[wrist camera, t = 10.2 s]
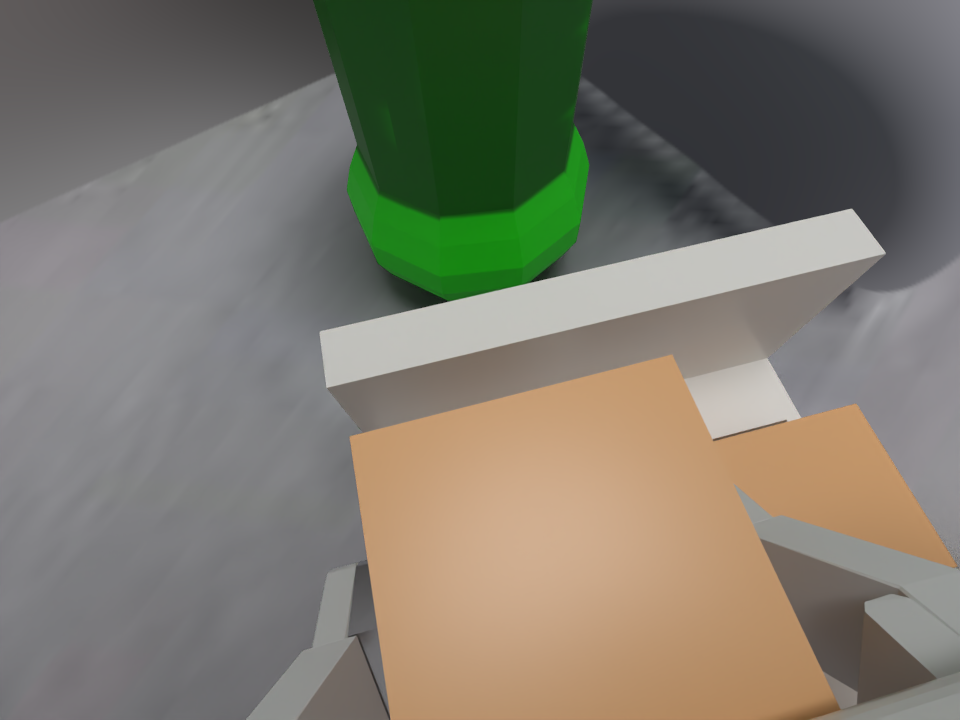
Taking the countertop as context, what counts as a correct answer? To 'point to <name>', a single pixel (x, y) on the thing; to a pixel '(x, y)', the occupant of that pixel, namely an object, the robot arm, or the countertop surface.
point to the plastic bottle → (463, 134)
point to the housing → (657, 333)
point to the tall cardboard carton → (575, 563)
